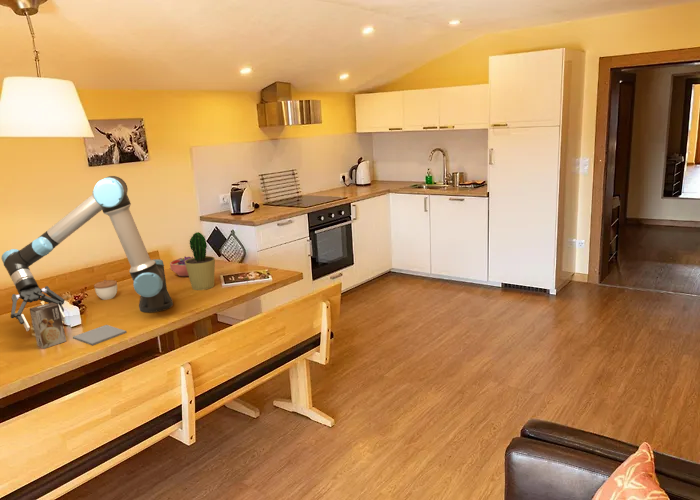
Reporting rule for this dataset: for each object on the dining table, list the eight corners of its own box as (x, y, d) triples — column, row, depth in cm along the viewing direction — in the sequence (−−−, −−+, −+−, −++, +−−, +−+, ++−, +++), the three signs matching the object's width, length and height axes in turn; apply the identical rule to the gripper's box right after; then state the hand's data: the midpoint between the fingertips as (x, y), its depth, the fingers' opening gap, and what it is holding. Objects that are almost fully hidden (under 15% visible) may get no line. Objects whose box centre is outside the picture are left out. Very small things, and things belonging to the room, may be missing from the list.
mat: (106, 326, 238) (106, 324, 238) (126, 332, 229) (126, 330, 229) (73, 338, 226) (72, 336, 226) (92, 345, 217) (92, 343, 217)
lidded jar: (105, 294, 285) (102, 277, 283) (123, 294, 283) (120, 277, 281) (91, 301, 275) (88, 283, 273) (110, 301, 273) (107, 283, 270)
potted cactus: (201, 281, 299) (195, 227, 292) (224, 283, 292) (217, 228, 285) (181, 289, 285) (174, 233, 278) (204, 292, 279) (197, 235, 272)
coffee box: (60, 338, 227) (53, 301, 223) (66, 341, 223) (59, 304, 219) (36, 345, 220) (29, 308, 217) (43, 349, 216) (35, 311, 212)
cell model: (192, 269, 326) (190, 250, 323) (209, 274, 312) (206, 255, 309) (165, 275, 315) (163, 256, 312) (181, 281, 301) (178, 262, 298)
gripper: (54, 280, 237) (76, 319, 231) (-11, 295, 218) (11, 338, 212) (57, 270, 232) (79, 309, 226) (-9, 285, 214) (13, 328, 208)
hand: (46, 324), depth 219 cm, fingers open, 13 cm apart
